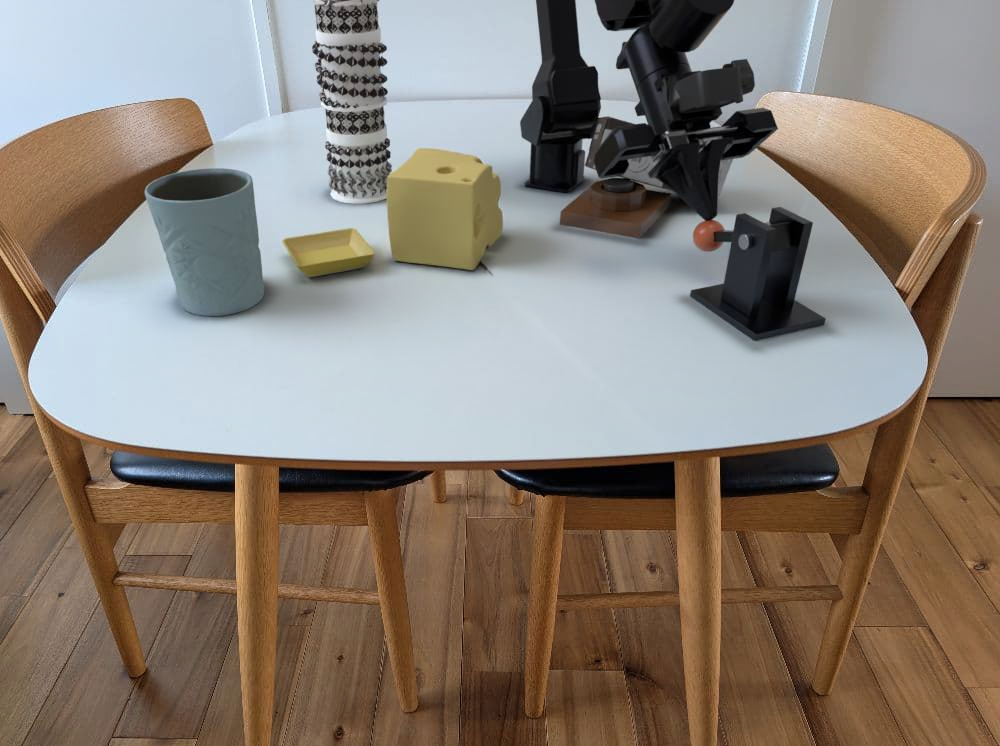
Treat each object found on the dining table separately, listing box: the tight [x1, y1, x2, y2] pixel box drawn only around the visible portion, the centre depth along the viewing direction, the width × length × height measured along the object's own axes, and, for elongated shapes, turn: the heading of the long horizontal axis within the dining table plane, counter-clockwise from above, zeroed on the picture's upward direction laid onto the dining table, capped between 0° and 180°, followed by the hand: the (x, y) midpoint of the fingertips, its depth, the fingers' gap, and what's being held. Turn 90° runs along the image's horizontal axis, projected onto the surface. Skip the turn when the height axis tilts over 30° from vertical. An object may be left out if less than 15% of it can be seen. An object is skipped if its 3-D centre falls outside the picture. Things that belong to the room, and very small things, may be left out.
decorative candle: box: [311, 0, 393, 205], centre depth 102 cm, size 9×9×25 cm
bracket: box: [689, 206, 827, 342], centre depth 75 cm, size 10×8×10 cm
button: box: [603, 177, 634, 194], centre depth 98 cm, size 4×4×2 cm
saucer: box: [281, 227, 376, 278], centre depth 89 cm, size 9×9×2 cm
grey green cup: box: [144, 167, 265, 317], centre depth 80 cm, size 10×10×12 cm
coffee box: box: [584, 115, 734, 199], centre depth 101 cm, size 9×6×16 cm
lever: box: [692, 219, 791, 253], centre depth 78 cm, size 12×3×3 cm, turn 22°
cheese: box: [386, 147, 504, 271], centre depth 90 cm, size 10×11×10 cm
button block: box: [559, 178, 672, 239], centre depth 99 cm, size 10×12×4 cm
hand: (711, 218), depth 81 cm, fingers closed, pressing on lever
